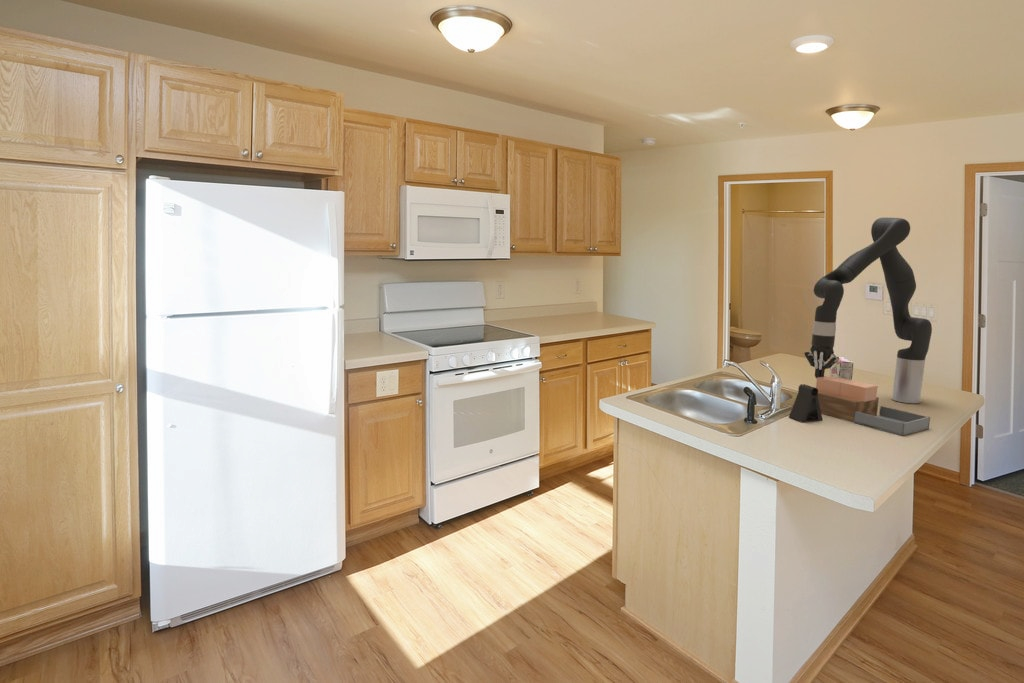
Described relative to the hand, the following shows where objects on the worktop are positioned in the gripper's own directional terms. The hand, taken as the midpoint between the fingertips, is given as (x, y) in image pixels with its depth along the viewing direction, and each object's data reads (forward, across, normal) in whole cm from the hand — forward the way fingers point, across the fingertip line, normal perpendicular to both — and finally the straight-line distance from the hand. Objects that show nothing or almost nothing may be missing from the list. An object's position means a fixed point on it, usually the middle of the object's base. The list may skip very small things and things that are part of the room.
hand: (818, 378), depth 219 cm
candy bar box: (+11, +3, -18) cm, 21 cm away
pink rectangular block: (+4, -6, 0) cm, 7 cm away
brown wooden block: (+11, -9, 0) cm, 14 cm away
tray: (+11, -27, 0) cm, 29 cm away
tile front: (+4, -15, 0) cm, 15 cm away
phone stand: (+11, -9, +19) cm, 24 cm away
